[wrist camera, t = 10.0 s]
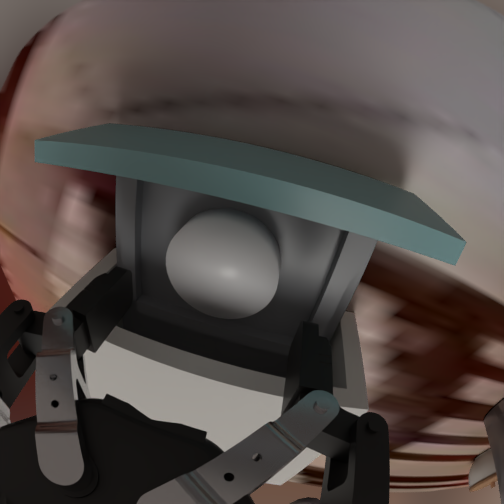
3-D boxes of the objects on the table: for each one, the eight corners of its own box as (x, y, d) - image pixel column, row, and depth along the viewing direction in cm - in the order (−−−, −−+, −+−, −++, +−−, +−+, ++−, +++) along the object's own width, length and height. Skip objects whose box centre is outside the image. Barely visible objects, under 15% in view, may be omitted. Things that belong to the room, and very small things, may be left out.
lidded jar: (515, 436, 28) (524, 469, 20) (485, 459, 33) (491, 490, 25) (487, 445, 29) (495, 483, 21) (456, 468, 34) (460, 502, 26)
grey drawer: (413, 193, 13) (466, 242, 8) (321, 379, 21) (320, 444, 16) (109, 123, 14) (34, 140, 9) (114, 319, 22) (77, 369, 16)
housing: (354, 313, 19) (368, 409, 12) (289, 419, 27) (280, 485, 20) (114, 248, 20) (47, 312, 13) (129, 373, 28) (98, 429, 21)
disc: (293, 223, 14) (292, 237, 13) (267, 312, 17) (263, 330, 16) (181, 196, 15) (169, 206, 13) (174, 286, 18) (164, 301, 16)
